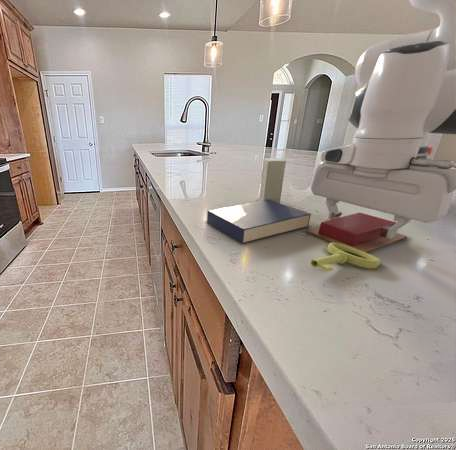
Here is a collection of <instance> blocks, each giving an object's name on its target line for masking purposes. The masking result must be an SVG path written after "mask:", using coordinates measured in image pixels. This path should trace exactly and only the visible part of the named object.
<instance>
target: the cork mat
mask: <svg viewBox="0 0 456 450" xmlns="http://www.w3.org/2000/svg"><path fill="white" fill-rule="evenodd" d="M319 228H320V227H316V228H313V229H310V230H307V232H306V233H307V234H309V235H311V236H314V237H317V238H319V239H322V240H324V241H326V242H329V243H339V244H343V245H346V246H349V247H352V248H355V249H358V250H360V251H363V252H365V253H369V252H371V251H373V250H376V249H379V248H383V247H386V246H387V245H390V244H394V243H397V242H400V241H402V240H405V239H407V238H408V236H407V235H404V234H402V233H399V232H397V233H396V235H395V237H394V238H392V239H388V238H385V237H381V238H378V239H375V240H372V241H369V242H366V243H363V244H359V245H356V246H350V245H348V244H345V243H342V242H340V241H337V240H335V239H332V238H330V237H327V236H325V235H322V234H319Z"/></svg>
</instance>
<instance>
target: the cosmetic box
mask: <svg viewBox="0 0 456 450" xmlns="http://www.w3.org/2000/svg"><path fill="white" fill-rule="evenodd" d="M286 163H287V160H285V159H283V158H281V157H270V158H269V157H264V158H263V160H262V170H261V178H260V187H259V197H258V201H261V200H267V199H268V200H271V201H274V202H277V203H280V204H281V198H282V192H283V191H282V190H283V185H284V184H283V183H284V178H285V170H286V165H287V164H286Z"/></svg>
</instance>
